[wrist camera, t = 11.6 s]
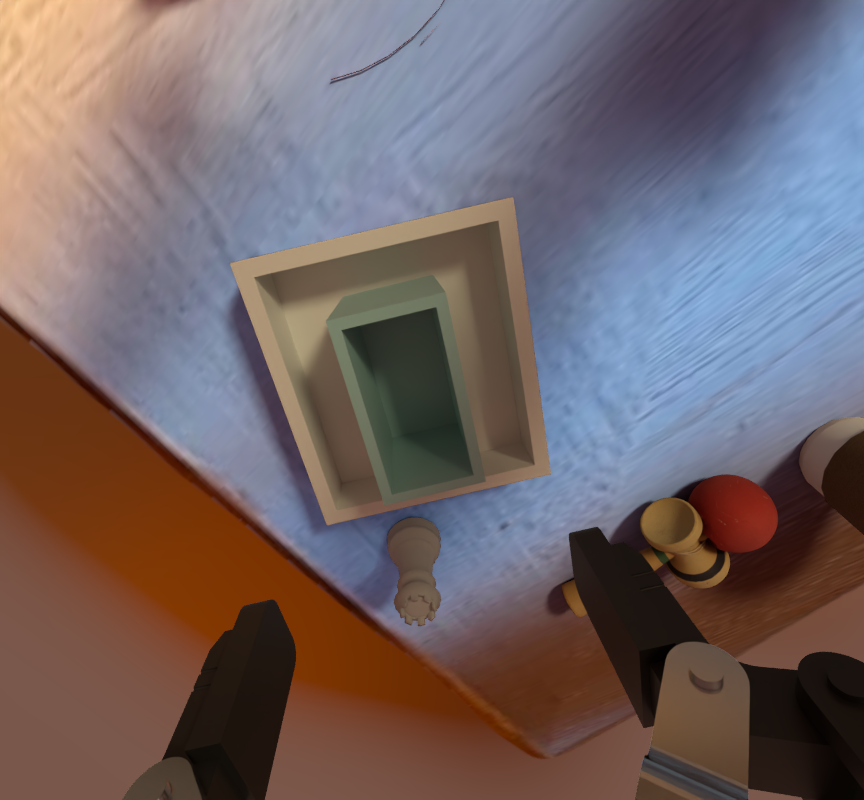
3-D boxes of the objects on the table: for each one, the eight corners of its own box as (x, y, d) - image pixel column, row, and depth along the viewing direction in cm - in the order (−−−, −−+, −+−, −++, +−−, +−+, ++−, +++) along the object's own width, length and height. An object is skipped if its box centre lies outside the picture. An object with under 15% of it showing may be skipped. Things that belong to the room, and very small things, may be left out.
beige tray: (253, 257, 29) (229, 263, 25) (496, 200, 29) (513, 196, 25) (334, 490, 36) (326, 525, 32) (532, 444, 36) (550, 474, 32)
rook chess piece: (414, 504, 37) (418, 575, 29) (451, 535, 38) (464, 610, 31) (375, 537, 38) (371, 614, 30) (413, 566, 39) (417, 646, 32)
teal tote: (343, 296, 29) (325, 321, 22) (432, 274, 29) (445, 292, 22) (386, 443, 34) (384, 505, 26) (465, 424, 33) (485, 481, 26)
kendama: (590, 603, 44) (773, 509, 39) (604, 658, 38) (822, 557, 33) (542, 547, 43) (723, 442, 37) (548, 595, 37) (764, 479, 31)
